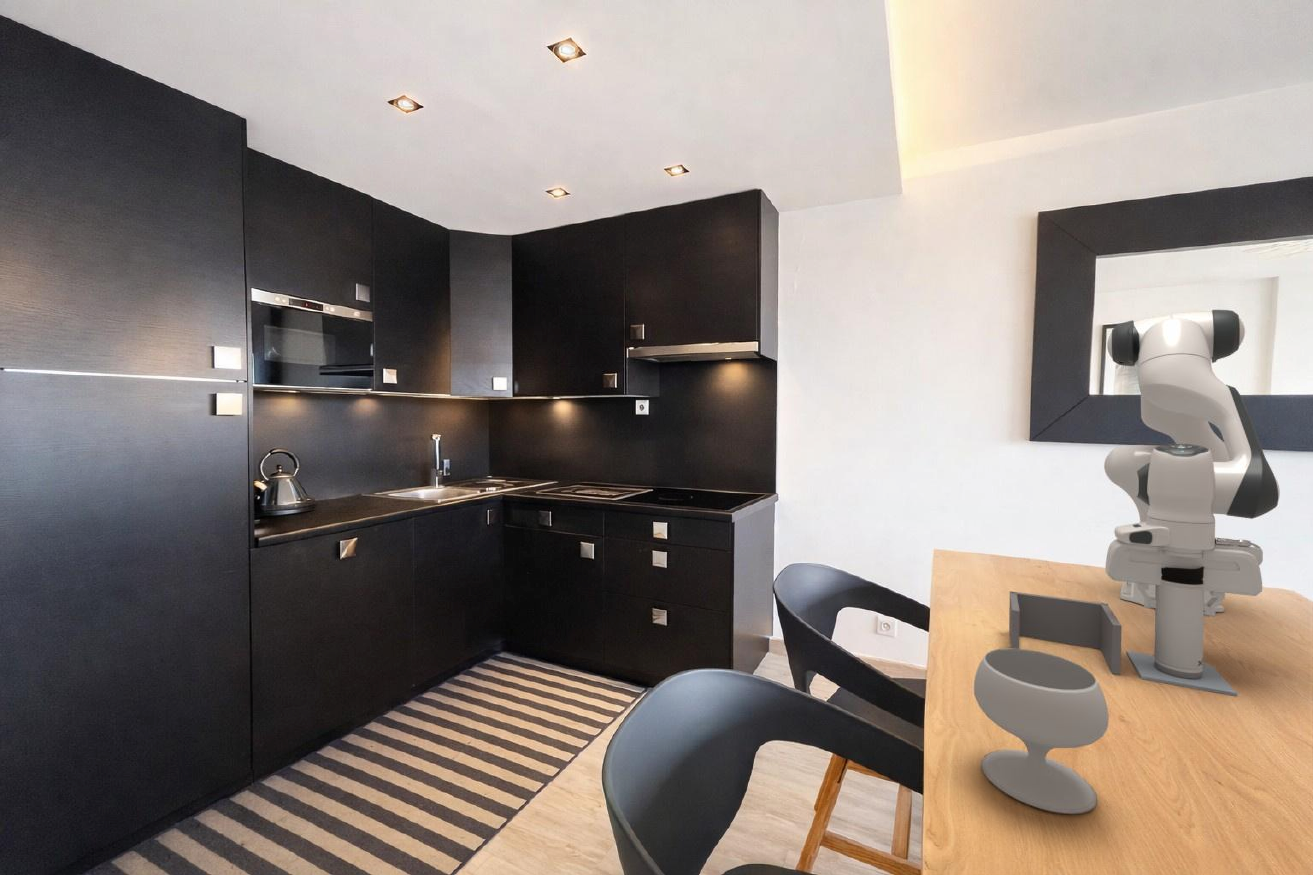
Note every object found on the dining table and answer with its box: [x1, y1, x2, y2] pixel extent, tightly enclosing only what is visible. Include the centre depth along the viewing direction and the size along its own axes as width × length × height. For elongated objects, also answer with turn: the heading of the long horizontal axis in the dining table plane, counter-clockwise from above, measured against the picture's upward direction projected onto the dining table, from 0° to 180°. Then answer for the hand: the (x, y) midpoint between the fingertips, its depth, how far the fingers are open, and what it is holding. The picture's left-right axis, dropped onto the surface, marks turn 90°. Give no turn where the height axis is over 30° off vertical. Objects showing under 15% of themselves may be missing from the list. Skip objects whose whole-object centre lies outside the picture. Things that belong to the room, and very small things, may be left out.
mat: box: [1126, 650, 1238, 697], centre depth 98 cm, size 12×12×1 cm
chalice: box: [973, 647, 1110, 815], centre depth 69 cm, size 14×14×15 cm
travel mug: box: [1153, 567, 1205, 679], centre depth 97 cm, size 6×7×20 cm
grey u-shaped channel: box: [1008, 590, 1123, 676], centre depth 107 cm, size 13×16×9 cm
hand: (1178, 611), depth 97 cm, fingers closed on travel mug, 6 cm apart
